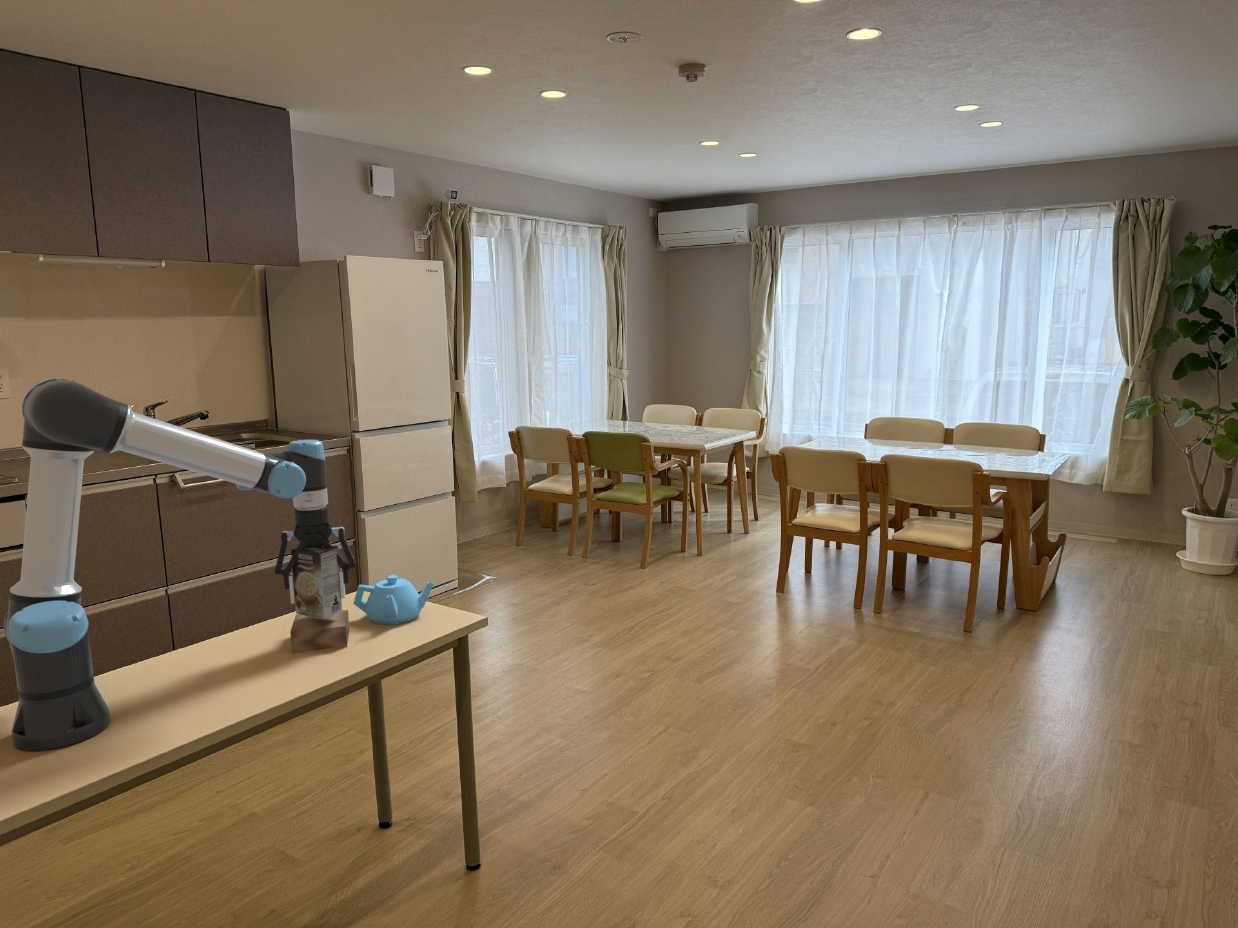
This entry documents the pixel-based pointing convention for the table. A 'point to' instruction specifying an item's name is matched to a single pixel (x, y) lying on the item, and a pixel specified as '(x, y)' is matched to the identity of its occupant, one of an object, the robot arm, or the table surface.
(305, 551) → the coffee box
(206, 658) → the table surface
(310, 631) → the walnut base
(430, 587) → the teapot
